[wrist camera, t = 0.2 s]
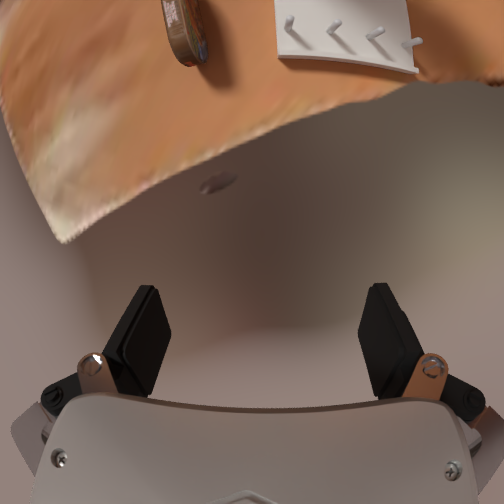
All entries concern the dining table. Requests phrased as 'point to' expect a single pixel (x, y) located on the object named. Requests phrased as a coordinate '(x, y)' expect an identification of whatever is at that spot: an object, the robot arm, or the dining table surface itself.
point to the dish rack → (347, 32)
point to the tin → (185, 31)
